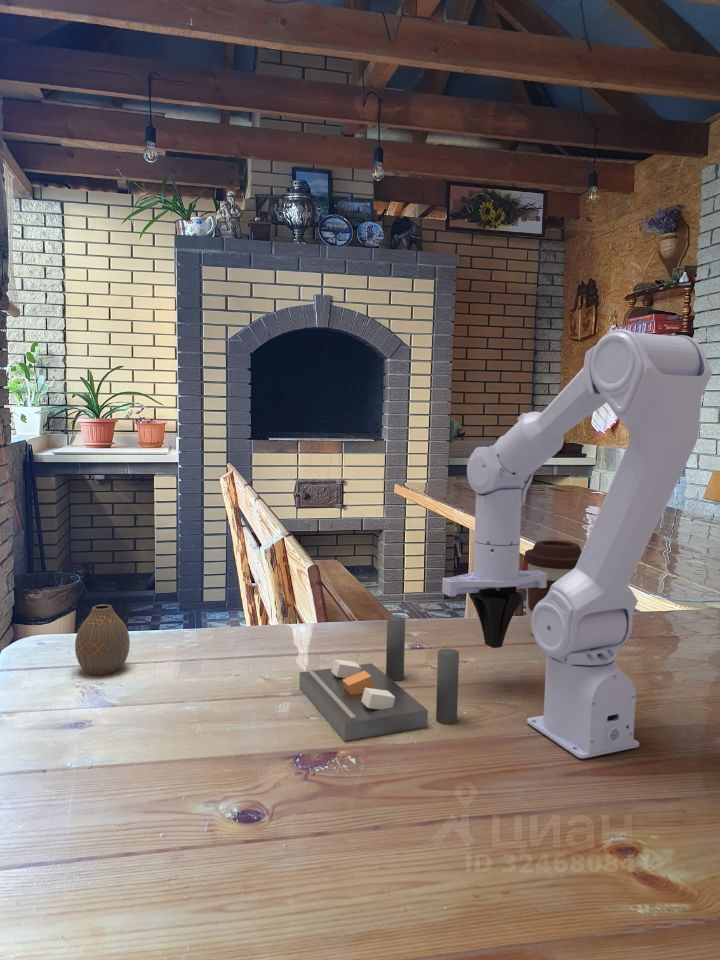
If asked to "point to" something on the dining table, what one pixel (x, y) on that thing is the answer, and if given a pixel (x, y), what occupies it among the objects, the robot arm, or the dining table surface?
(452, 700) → the post
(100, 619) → the vase
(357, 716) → the breaker panel
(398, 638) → the post
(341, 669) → the paddle
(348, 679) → the orange block
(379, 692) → the paddle
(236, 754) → the dining table surface
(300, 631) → the dining table surface
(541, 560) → the coffee cup
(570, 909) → the dining table surface
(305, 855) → the dining table surface
